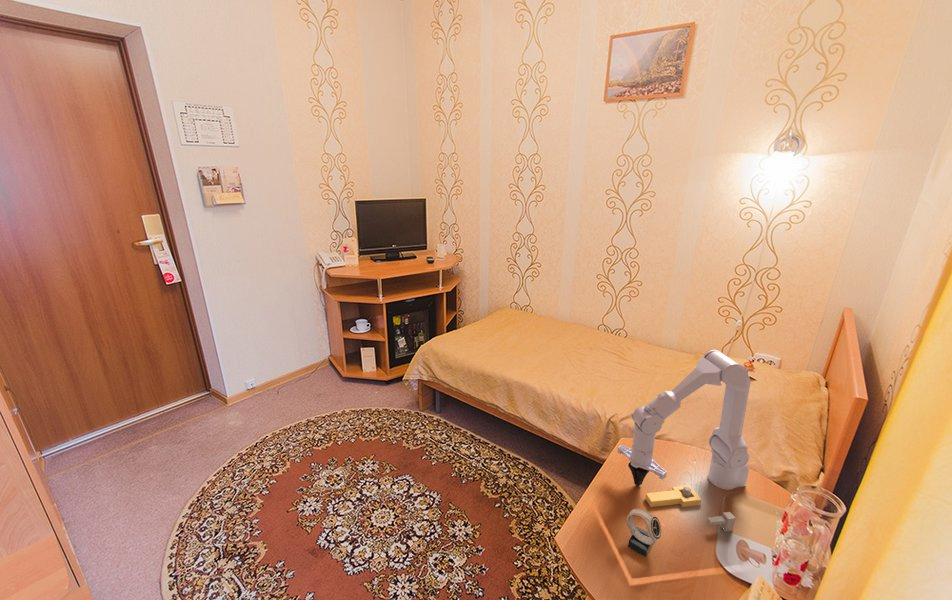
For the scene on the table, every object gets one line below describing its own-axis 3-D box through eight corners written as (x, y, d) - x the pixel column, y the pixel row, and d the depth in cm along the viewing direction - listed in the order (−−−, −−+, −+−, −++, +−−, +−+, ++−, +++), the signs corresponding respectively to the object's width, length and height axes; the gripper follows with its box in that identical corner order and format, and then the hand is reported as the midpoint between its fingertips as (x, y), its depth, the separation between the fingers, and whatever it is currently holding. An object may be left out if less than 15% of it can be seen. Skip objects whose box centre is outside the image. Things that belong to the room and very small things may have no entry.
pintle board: (696, 486, 117) (699, 471, 116) (738, 535, 101) (742, 519, 100) (633, 492, 115) (635, 478, 114) (666, 544, 99) (669, 527, 98)
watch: (653, 565, 94) (658, 531, 91) (620, 545, 99) (624, 512, 96) (660, 549, 98) (666, 515, 95) (629, 531, 103) (633, 498, 100)
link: (688, 490, 114) (689, 485, 114) (700, 505, 109) (701, 499, 109) (643, 495, 113) (643, 490, 112) (653, 510, 108) (653, 505, 107)
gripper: (613, 439, 116) (609, 475, 120) (659, 466, 104) (653, 505, 109) (626, 430, 120) (623, 465, 124) (672, 455, 108) (666, 493, 112)
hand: (638, 483), depth 116 cm, fingers closed
